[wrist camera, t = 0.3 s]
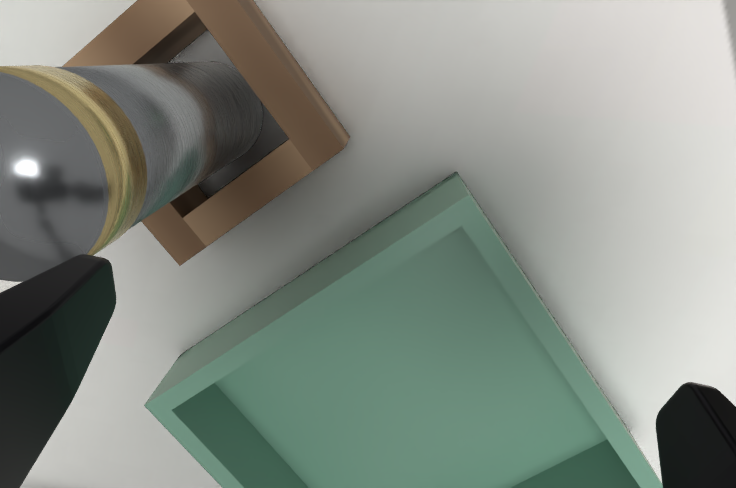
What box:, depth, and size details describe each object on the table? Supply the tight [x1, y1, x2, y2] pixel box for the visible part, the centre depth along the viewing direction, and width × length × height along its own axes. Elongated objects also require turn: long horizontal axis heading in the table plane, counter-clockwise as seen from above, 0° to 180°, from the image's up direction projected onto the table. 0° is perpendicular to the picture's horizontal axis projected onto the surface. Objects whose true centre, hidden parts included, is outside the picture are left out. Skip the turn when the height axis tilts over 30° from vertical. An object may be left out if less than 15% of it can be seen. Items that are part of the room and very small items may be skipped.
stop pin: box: [0, 62, 263, 282], centre depth 16 cm, size 4×4×13 cm
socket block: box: [62, 0, 350, 266], centre depth 21 cm, size 8×8×3 cm
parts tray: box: [144, 172, 663, 488], centre depth 25 cm, size 16×16×4 cm
